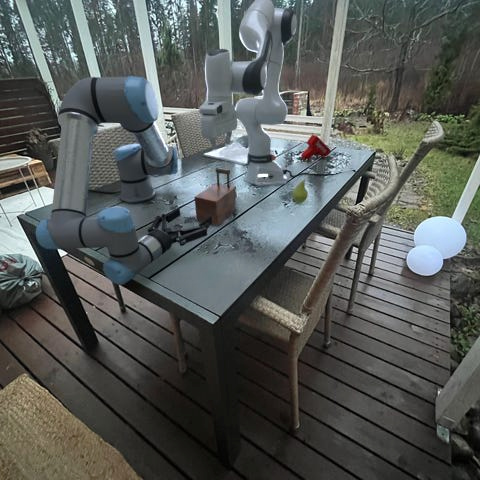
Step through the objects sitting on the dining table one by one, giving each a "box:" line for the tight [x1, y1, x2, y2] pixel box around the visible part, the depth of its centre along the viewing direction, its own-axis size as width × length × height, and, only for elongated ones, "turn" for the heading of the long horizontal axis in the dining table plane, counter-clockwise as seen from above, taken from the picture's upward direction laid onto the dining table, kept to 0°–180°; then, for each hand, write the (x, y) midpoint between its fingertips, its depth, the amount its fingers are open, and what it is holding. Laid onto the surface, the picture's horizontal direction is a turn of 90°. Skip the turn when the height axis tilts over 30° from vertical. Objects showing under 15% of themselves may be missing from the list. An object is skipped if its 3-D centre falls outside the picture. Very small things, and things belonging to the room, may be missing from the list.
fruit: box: [291, 175, 311, 204], centre depth 118 cm, size 7×8×12 cm
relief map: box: [203, 141, 249, 166], centre depth 184 cm, size 27×35×5 cm
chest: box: [194, 189, 237, 226], centre depth 109 cm, size 15×10×9 cm, turn 153°
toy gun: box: [300, 134, 332, 162], centre depth 175 cm, size 18×4×15 cm
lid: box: [194, 167, 237, 204], centre depth 104 cm, size 16×10×8 cm, turn 153°
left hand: (194, 215), depth 96 cm, fingers open, 13 cm apart
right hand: (221, 146), depth 102 cm, fingers open, 8 cm apart
